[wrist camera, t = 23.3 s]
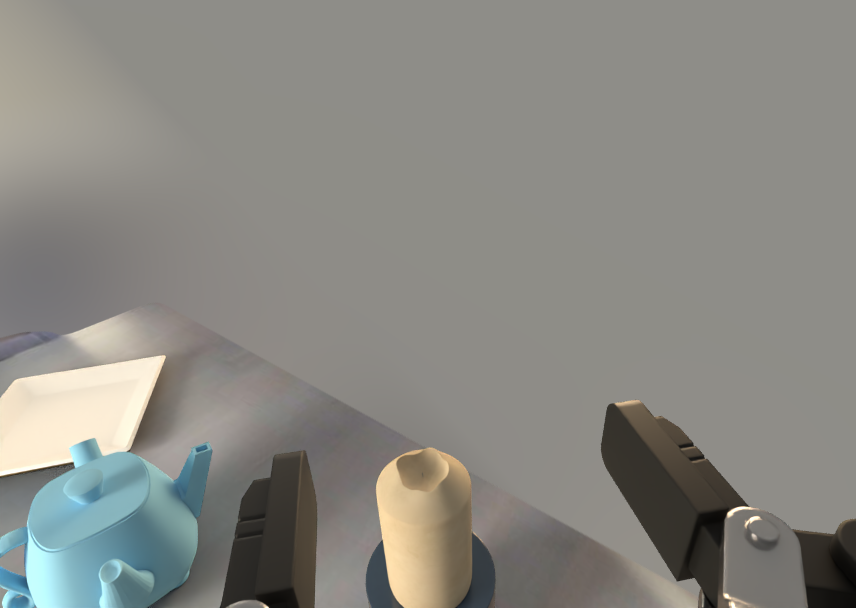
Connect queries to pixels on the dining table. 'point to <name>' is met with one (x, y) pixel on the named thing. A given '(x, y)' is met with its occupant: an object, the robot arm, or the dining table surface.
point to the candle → (426, 528)
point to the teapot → (108, 533)
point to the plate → (73, 413)
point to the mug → (475, 604)
